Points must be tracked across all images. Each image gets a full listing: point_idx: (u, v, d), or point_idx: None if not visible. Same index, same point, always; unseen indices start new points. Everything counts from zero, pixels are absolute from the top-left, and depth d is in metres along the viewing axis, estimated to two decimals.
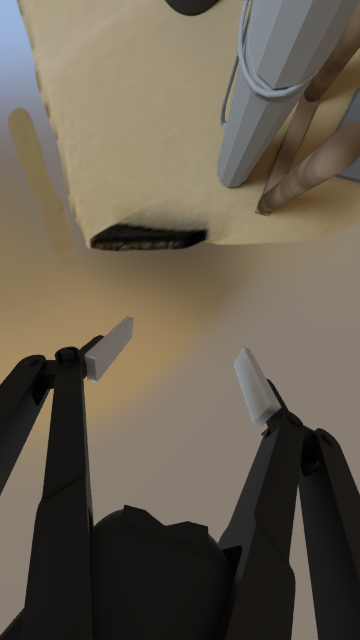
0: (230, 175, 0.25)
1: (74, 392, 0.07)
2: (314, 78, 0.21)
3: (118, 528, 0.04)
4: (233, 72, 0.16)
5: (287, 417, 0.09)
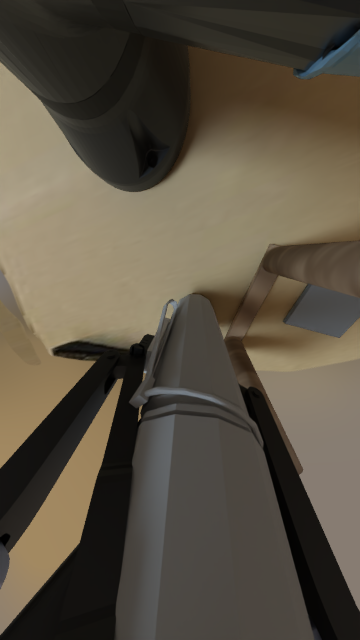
0: None
1: (136, 384, 0.09)
2: (269, 267, 0.19)
3: (118, 528, 0.04)
4: (160, 327, 0.14)
5: None
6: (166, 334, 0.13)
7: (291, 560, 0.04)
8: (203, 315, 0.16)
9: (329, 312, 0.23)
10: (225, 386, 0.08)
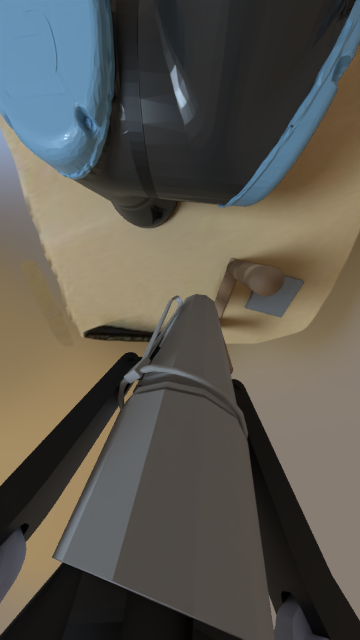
0: None
1: None
2: (229, 272, 0.32)
3: None
4: (162, 318, 0.14)
5: None
6: (167, 325, 0.14)
7: (258, 536, 0.04)
8: (205, 313, 0.16)
9: (271, 300, 0.35)
10: (217, 376, 0.08)
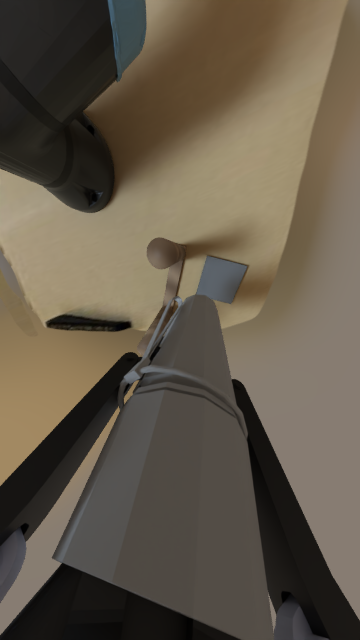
0: None
1: None
2: None
3: None
4: (162, 318, 0.14)
5: None
6: (167, 325, 0.14)
7: (258, 537, 0.04)
8: (205, 313, 0.16)
9: (219, 286, 0.35)
10: (217, 376, 0.08)
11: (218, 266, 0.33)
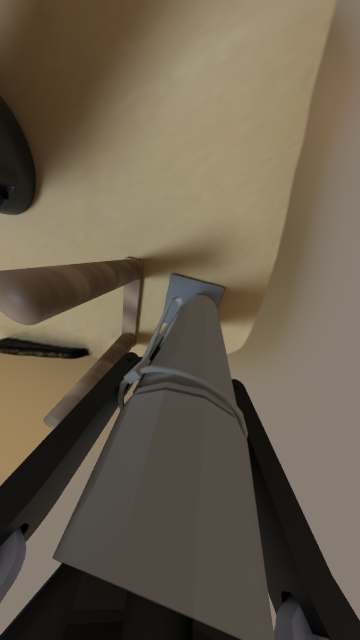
0: None
1: None
2: None
3: None
4: (162, 318, 0.14)
5: None
6: (167, 325, 0.14)
7: (258, 537, 0.04)
8: (205, 313, 0.16)
9: None
10: (217, 376, 0.08)
11: (187, 288, 0.25)
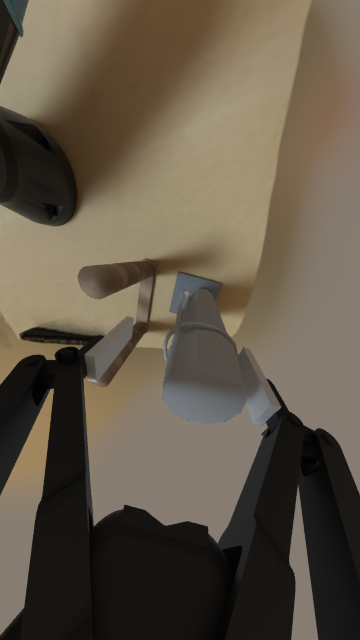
0: None
1: (74, 392, 0.07)
2: None
3: (118, 528, 0.04)
4: (180, 303, 0.21)
5: (287, 417, 0.09)
6: (184, 308, 0.20)
7: (242, 377, 0.11)
8: (208, 300, 0.23)
9: None
10: (221, 329, 0.15)
11: (190, 283, 0.31)
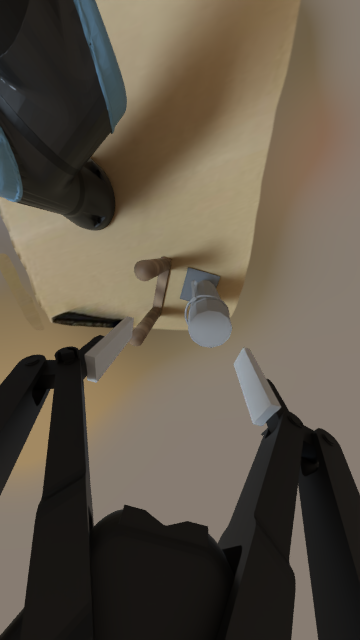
0: None
1: (74, 392, 0.07)
2: None
3: (118, 528, 0.04)
4: (192, 288, 0.30)
5: (287, 417, 0.09)
6: (195, 290, 0.30)
7: None
8: (211, 287, 0.33)
9: None
10: (219, 301, 0.25)
11: (197, 276, 0.41)
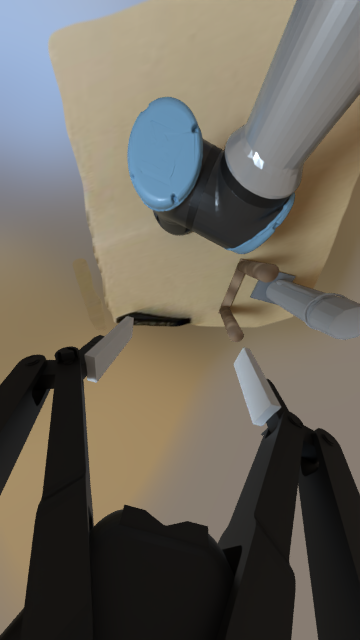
0: None
1: (74, 392, 0.07)
2: (239, 269, 0.42)
3: (118, 528, 0.04)
4: (293, 287, 0.33)
5: (287, 417, 0.09)
6: None
7: None
8: (303, 286, 0.36)
9: None
10: None
11: None
